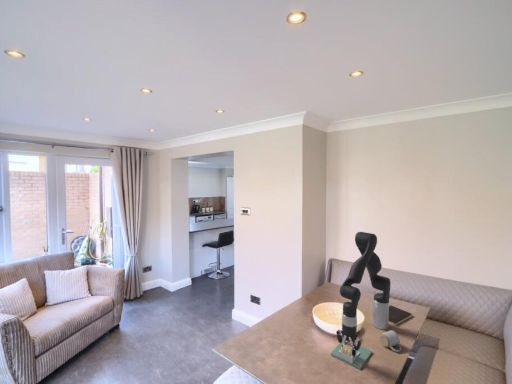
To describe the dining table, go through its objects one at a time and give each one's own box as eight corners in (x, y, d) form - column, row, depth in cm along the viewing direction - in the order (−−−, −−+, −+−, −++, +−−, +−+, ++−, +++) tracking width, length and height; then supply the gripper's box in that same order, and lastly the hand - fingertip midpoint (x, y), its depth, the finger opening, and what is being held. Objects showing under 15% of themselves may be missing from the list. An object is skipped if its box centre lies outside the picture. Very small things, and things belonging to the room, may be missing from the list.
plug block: (346, 351, 142) (346, 340, 142) (354, 354, 139) (354, 343, 139) (342, 355, 138) (343, 344, 138) (350, 359, 135) (351, 348, 135)
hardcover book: (412, 317, 183) (412, 313, 182) (395, 326, 170) (395, 323, 170) (390, 307, 196) (390, 304, 196) (372, 316, 183) (372, 313, 183)
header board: (344, 340, 153) (344, 329, 153) (372, 352, 143) (372, 341, 142) (330, 355, 140) (330, 343, 140) (359, 369, 129) (360, 357, 129)
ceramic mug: (378, 342, 151) (379, 330, 151) (388, 340, 154) (389, 327, 154) (393, 354, 142) (394, 341, 141) (404, 351, 144) (405, 338, 144)
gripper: (365, 324, 136) (364, 356, 136) (339, 315, 145) (339, 344, 146) (360, 330, 130) (359, 363, 131) (333, 320, 140) (333, 350, 140)
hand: (348, 353), depth 138 cm, fingers closed on plug block, 4 cm apart
